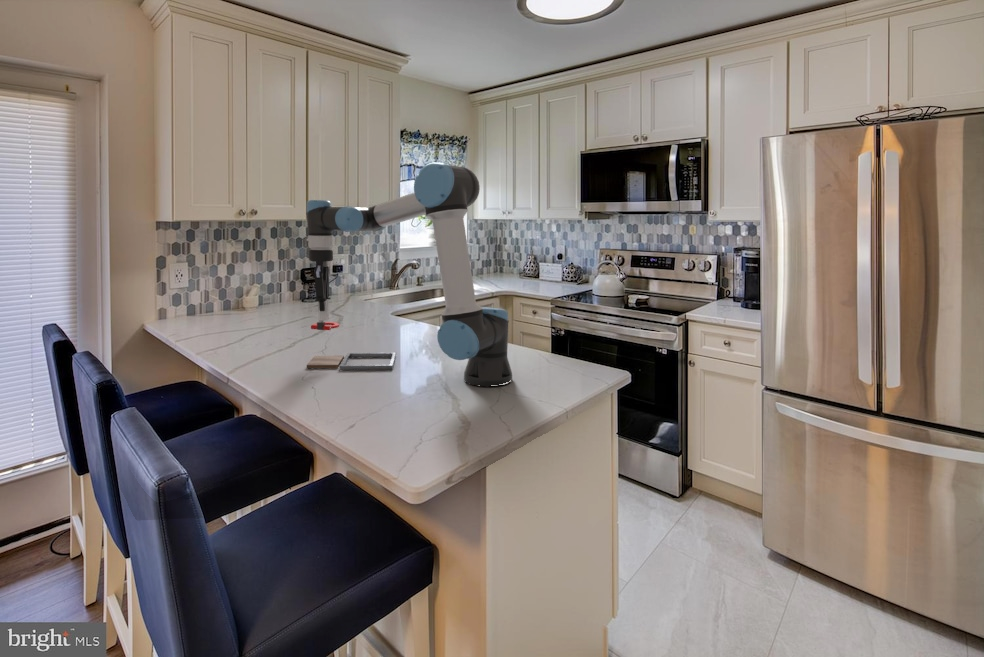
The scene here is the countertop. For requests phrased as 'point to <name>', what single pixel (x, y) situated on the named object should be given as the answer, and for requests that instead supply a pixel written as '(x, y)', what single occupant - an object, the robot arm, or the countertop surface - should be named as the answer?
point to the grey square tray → (368, 367)
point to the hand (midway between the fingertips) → (323, 319)
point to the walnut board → (325, 362)
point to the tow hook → (321, 325)
